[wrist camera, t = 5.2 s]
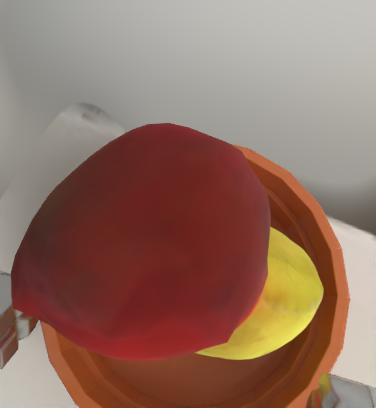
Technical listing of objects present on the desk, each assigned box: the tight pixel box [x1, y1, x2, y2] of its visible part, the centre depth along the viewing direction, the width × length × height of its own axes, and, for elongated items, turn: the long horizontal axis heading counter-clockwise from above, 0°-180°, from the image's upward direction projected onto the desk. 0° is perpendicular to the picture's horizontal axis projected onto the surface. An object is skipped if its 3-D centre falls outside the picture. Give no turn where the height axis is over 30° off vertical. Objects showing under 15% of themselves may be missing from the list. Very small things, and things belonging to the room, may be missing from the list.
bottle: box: [11, 123, 324, 361], centre depth 14 cm, size 12×6×20 cm, turn 74°
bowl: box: [40, 144, 350, 408], centre depth 22 cm, size 17×17×6 cm
